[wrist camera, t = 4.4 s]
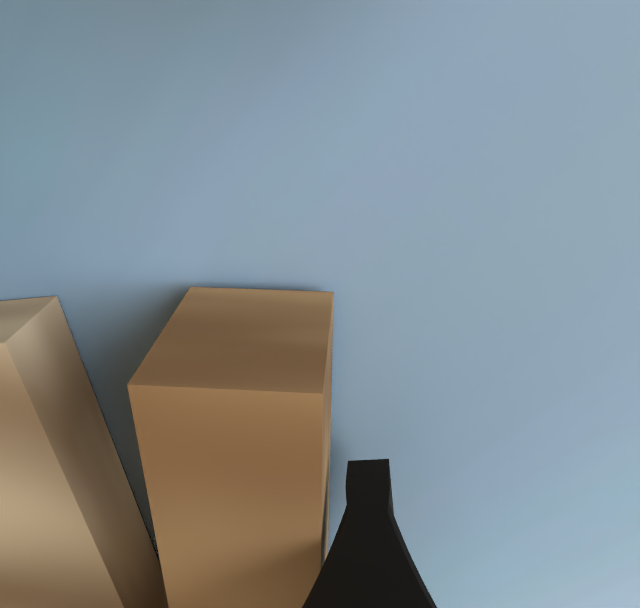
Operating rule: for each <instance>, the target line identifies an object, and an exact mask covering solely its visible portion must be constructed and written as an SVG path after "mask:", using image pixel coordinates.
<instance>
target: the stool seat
mask: <svg viewBox="0 0 640 608" xmlns="http://www.w3.org/2000/svg"><path fill="white" fill-rule="evenodd" d="M0 608H169V606H168V601H167V595H166V590H165V585H164V579H163V574H162V569H161V566H160V563H159V561H158V558H157V556H156V553H155V550H154V548H153V545H152V543H151V540H150V537H149V535H148V532H147V530H146V527H145V524H144V522H143V519H142V516H141V514H140V511H139V509H138V506H137V503H136V501H135V498H134V496H133V493H132V490H131V488H130V485H129V483H128V480H127V477H126V475H125V472H124V469H123V467H122V464H121V462H120V459H119V456H118V454H117V451H116V449H115V446H114V443H113V441H112V438H111V436H110V433H109V430H108V428H107V425H106V422H105V420H104V417H103V415H102V412H101V409H100V407H99V404H98V402H97V399H96V396H95V394H94V391H93V389H92V386H91V383H90V381H89V378H88V376H87V373H86V370H85V368H84V365H83V362H82V360H81V357H80V355H79V352H78V349H77V347H76V344H75V342H74V339H73V336H72V334H71V331H70V329H69V326H68V323H67V321H66V318H65V315H64V313H63V310H62V308H61V305H60V302H59V300H58V297H57V296H50V297H39V298H28V299H17V300H6V301H0Z"/></svg>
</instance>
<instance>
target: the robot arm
mask: <svg viewBox="0 0 640 608" xmlns="http://www.w3.org/2000/svg"><path fill="white" fill-rule="evenodd" d="M346 499H347V506H346V509H345V512H344V515H343V517H342V520H341V523H340V525H339V528H338V531H337V533H336V536H335V539H334V541H333V544H332V546H331V548H330V551H329V553H328V555H327V557H326V559H325V562H324V564H323V566H322V568H321V571H320V573H319V575H318V577H317V579H316V581H315V583H314V585H313V587H312V589H311V591H310V593H309V595H308V597H307V599H306V601H305V603H304V605H303V606H302V608H437V607H436V605H435V603H434V601H433V599H432V598H431V596H430V594H429V592H428V590H427V588H426V586H425V584H424V582H423V580H422V578H421V576H420V574H419V572H418V570H417V568H416V566H415V564H414V562H413V560H412V558H411V556H410V553H409V551H408V549H407V547H406V544H405V542H404V540H403V537H402V535H401V532H400V530H399V527H398V525H397V523H396V520H395V517H394V512H393V501H392V490H391V478H390V467H389V459H378V460H357V461H348V466H347V475H346Z"/></svg>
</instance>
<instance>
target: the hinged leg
mask: <svg viewBox="0 0 640 608" xmlns="http://www.w3.org/2000/svg"><path fill="white" fill-rule="evenodd" d="M332 336H333V292H320V291H293V290H265V289H237V288H209V287H190V288H189V290H188V292H187V293H186V295H185V296H184V298H183V299H182V301H181V302H180V304H179V305H178V307H177V308H176V310H175V312H174V313H173V315H172V316H171V318H170V319H169V321H168V322H167V324H166V325H165V327H164V328H163V330H162V332H161V333H160V335H159V336H158V338H157V339H156V341H155V342H154V344H153V345H152V347H151V349H150V350H149V352H148V353H147V355H146V356H145V358H144V359H143V361H142V362H141V364H140V365H139V367H138V369H137V370H136V372H135V373H134V375H133V376H132V378H131V379H130V381H129V382H128V384H127V387H128V392H129V398H130V403H131V408H132V414H133V419H134V424H135V430H136V435H137V440H138V446H139V451H140V456H141V462H142V467H143V472H144V478H145V483H146V488H147V494H148V499H149V505H150V510H151V515H152V521H153V526H154V531H155V537H156V542H157V547H158V553H159V558H160V563H161V569H162V574H163V579H164V585H165V590H166V595H167V601H168V606H169V608H302V606H303V605H304V603H305V601H306V599H307V597H308V595H309V593H310V591H311V589H312V587H313V585H314V583H315V581H316V579H317V577H318V575H319V573H320V571H321V568H322V566H323V564H324V562H325V559H326V557H327V555H328V531H329V482H330V433H331V385H332Z"/></svg>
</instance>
